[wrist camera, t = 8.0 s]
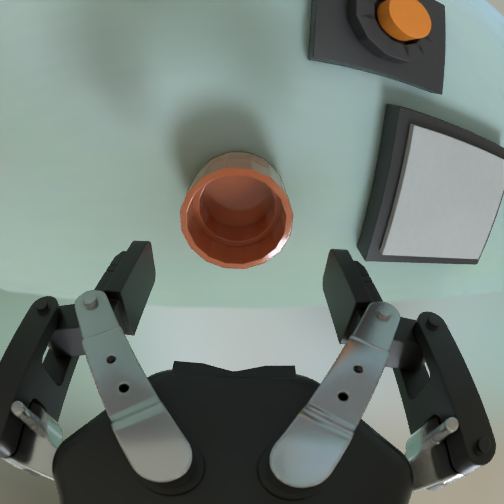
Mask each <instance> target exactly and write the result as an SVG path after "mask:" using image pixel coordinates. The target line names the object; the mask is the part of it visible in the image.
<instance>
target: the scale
mask: <svg viewBox="0 0 504 504" xmlns="http://www.w3.org/2000/svg"><path fill="white" fill-rule="evenodd" d="M503 194H504V148H503V147H501V146H499V145H497V144H495V143H493V142H491V141H489V140H487V139H485V138H483V137H481V136H479V135H476V134H474V133H472V132H470V131H467V130H465V129H463V128H460V127H458V126H455V125H453V124H450V123H448V122H445V121H443V120H440V119H437V118H435V117H432V116H429V115H426V114H423V113H420V112H417V111H414V110H411V109H408V108H404V107H401V106H396V105H391V104H387V106H386V114H385V121H384V127H383V134H382V140H381V146H380V151H379V157H378V162H377V167H376V172H375V177H374V182H373V187H372V191H371V196H370V200H369V204H368V209H367V213H366V217H365V221H364V225H363V229H362V232H361V236H360V240H359V244H358V247H357V248H358V250H359V252H360V253H361V255H362V257H363V258H364V260H365V261H381V262H412V263H445V264H477V263H478V261H479V259H480V256H481V254H482V252H483V249H484V247H485V245H486V242H487V240H488V237H489V235H490V232H491V229H492V227H493V224H494V221H495V218H496V216H497V213H498V210H499V207H500V203H501V200H502V197H503Z"/></svg>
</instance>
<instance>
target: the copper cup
mask: <svg viewBox="0 0 504 504" xmlns="http://www.w3.org/2000/svg"><path fill="white" fill-rule="evenodd" d="M180 214H181V230H182V232H183V234H184V236H185V238H186V240H187V242H188V244H189V246H190V247H191V249H193V250H194V251H195V252H196V253H197V254H198V255H199V256H201V257H202V258H203V259H204V260H205V261H207V262H210V263H213V264H215V265H218V266H220V267H223V268H236V269H246V268H249V267H253V266H256V265H260V264H263V263H265V262H266V261H268V260H269V259H270V258H272V257H273V256H275V255H276V254H277V253H279V252H280V251H281V249H282V248H283V246H284V244H285V243H286V241H287V240H288V238H289V236H290V234H291V228H292V221H293V212H292V209H291V206H290V203H289V199H288V196H287V194H286V191H285V188H284V186H283V183H282V180H281V178H280V175H279V174H278V173H277V171H276V170H275V169H274V168H273V167H272V166H271V165H270V164H269V163H268V162H267V161H266V160H264V159H262V158H260V157H258V156H255V155H253V154H251V153H244V152H229V153H226V154H223V155H220V156H218V157H215V158H213V159H211V160H210V161H209V162H208V163H207V164H206V165H205V166H204V167H203V168H202V169H201V170H200V171H199V172H198V174H197V176H196V177H195V179H194V181H193V183H192V185H191V187H190V188H189V190H188V192H187V195H186V197H185V200H184V202H183V205H182V207H181V211H180Z"/></svg>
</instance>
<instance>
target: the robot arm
mask: <svg viewBox="0 0 504 504" xmlns="http://www.w3.org/2000/svg"><path fill="white" fill-rule="evenodd" d="M154 282H155V266H154V259H153V253H152V246H151V243H150V242H149V241H133V242H132V244H131V245H130V247H129V248H128V250H127V251H122V252H121V253H120V254H118V255H117V256H116V257H115V258H114V259H113V261H112V262H111V264H110V266H109V267H108V268H107V270H106V272H105V273H104V275H103V276H102V278H101V280H100V281H99V283H98V284H97V286H96V288H95V289H94V290H91V291H87V292H85V293H83V294H82V295H80V296H79V297H78V298H77V300H76V301H75V304H71V305H64V306H59V304H58V302H57V300H56V299H55V298H54V297H51V296H45V297H42V298H40V299H38V300H37V301H35V302H34V303H33V304H32V306H31V307H30V309H29V310H28V312H27V314H26V315H25V317H24V319H23V320H22V322H21V324H20V326H19V327H18V329H17V331H16V333H15V334H14V336H13V338H12V340H11V342H10V344H9V346H8V348H7V349H6V351H5V353H4V356H3V357H2V360H1V362H0V457H1V458H2V459H4V460H5V461H7V462H8V463H10V464H12V465H13V466H15V467H17V468H19V469H22V470H24V471H25V472H28V473H29V474H31V475H34V476H39V475H43V476H45V477H47V478H50V479H52V480H54V482H55V486H56V489H57V494H58V499H59V504H408V503H409V500H410V497H411V494H412V493H414V492H417V491H420V490H423V489H428V490H437V489H439V488H441V487H443V486H446V485H448V484H450V483H452V482H454V481H456V480H458V479H460V478H462V477H464V476H466V475H467V474H469V473H471V472H473V471H475V470H477V469H478V468H480V467H482V466H484V465H485V464H487V463H488V462H490V461H491V459H492V458H493V456H494V454H495V449H496V443H495V438H494V435H493V433H492V429H491V426H490V423H489V420H488V417H487V414H486V412H485V409H484V406H483V404H482V401H481V398H480V396H479V394H478V391H477V388H476V386H475V384H474V382H473V379H472V377H471V374H470V372H469V370H468V368H467V365H466V363H465V361H464V359H463V357H462V355H461V353H460V351H459V349H458V347H457V345H456V343H455V341H454V339H453V337H452V335H451V333H450V331H449V329H448V328H447V325H446V323H445V322H444V320H443V319H442V318H441V317H440V316H438V315H436V314H435V313H432V312H423V313H421V314H420V315H419V317H418V319H417V320H412V319H407V318H403V317H400V314H399V312H398V311H397V309H396V308H395V307H394V306H392V305H391V304H389V303H386V302H383V301H382V299H381V297H380V295H379V293H378V291H377V289H376V287H375V285H374V283H372V280H371V278H370V277H369V274H368V272H367V270H366V269H365V267H364V266H362V265H361V264H360V263H359V262H358V261H353V259H352V257H351V255H350V254H349V252H348V250H341V249H331V250H330V252H329V255H328V259H327V264H326V268H325V272H324V276H323V291H324V294H325V297H326V300H327V304H328V307H329V310H330V313H331V317H332V320H333V323H334V327H335V330H336V333H337V337H338V340H339V343H340V344H345V346H344V348H343V349H342V351H341V353H340V354H339V356H338V358H337V359H336V361H335V363H334V364H333V366H332V367H331V369H330V370H329V372H328V374H327V375H326V377H325V378H324V380H323V381H322V383H321V384H320V383H318V382H316V381H314V380H313V379H310V378H308V377H305V376H301V375H297V374H296V372H295V366H263V367H258V368H252V369H247V370H242V371H233V372H232V371H229V370H225V369H221V368H217V367H214V366H210V365H207V364H202V363H191V362H179V361H174V364H173V369H172V370H166V371H162V372H159V373H156V374H153V375H151V376H149V377H146V375H145V373H144V371H143V370H142V368H141V366H140V364H139V362H138V360H137V358H136V356H135V354H134V352H133V350H132V349H131V347H130V344H129V342H128V340H127V338H126V336H125V334H126V335H134V334H135V332H136V329H137V326H138V324H139V320H140V318H141V315H142V313H143V310H144V308H145V305H146V302H147V300H148V297H149V295H150V292H151V290H152V287H153V285H154ZM47 346H48V347H49V350H48V352H47V355H46V357H45V359H44V362H43V364H42V358H43V354H44V352H45V350H46V348H47ZM80 355H86V358H87V361H88V364H89V367H90V370H91V373H92V376H93V379H94V381H95V384H96V387H97V389H98V392H99V395H100V397H101V399H102V402H103V404H104V407H105V410H104V411H103V412H101V413H100V414H99V415H98V416H96V417H95V418H94V419H92V420H91V421H90V422H88V423H87V424H86V425H84V426H83V427H82V428H80V429H79V430H78V431H76V432H75V433H74V434H72V435H71V436H69V437H68V438H67V439H66V440H64V441H63V439H62V430H61V427H60V425H59V424H58V419H59V416H60V413H61V409H62V406H63V402H64V399H65V396H66V393H67V390H68V387H69V384H70V381H71V378H72V375H73V372H74V369H75V366H76V364H77V361H78V358H79V356H80ZM425 362H426V363H427V366H428V369H429V371H430V378H429V375H428V372H427V370H426V367H425V365H424V363H425ZM385 367H391V368H393V371H394V374H395V377H396V381H397V384H398V387H399V391H400V394H401V398H402V401H403V405H404V409H405V413H406V417H407V420H408V425H409V429H410V433H411V436H410V437H409V438H408V440H407V443H406V452H405V455H404V454H403V453H402V452H401V451H399V450H398V449H397V448H396V447H394V446H393V445H392V444H391V443H390V442H388V441H387V440H386V439H385V438H383V437H382V436H381V435H380V434H379V433H377V432H376V431H375V430H374V429H373V428H371V427H370V426H369V425H368V424H367V423H365V422H364V421H363V420H362V419H361V418H362V416H363V413H364V412H365V410H366V407H367V405H368V403H369V401H370V399H371V397H372V395H373V393H374V391H375V388H376V386H377V384H378V382H379V379H380V377H381V375H382V372H383V370H384V368H385Z"/></svg>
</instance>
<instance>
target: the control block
mask: <svg viewBox="0 0 504 504" xmlns="http://www.w3.org/2000/svg"><path fill="white" fill-rule="evenodd" d="M383 1H385V0H312V9H311V26H310V41H309V55H308V59H309V60H313V61H319V62H324V63H330V64H335V65H340V66H345V67H349V68H354V69H358V70H362V71H366V72H370V73H373V74H377V75H381V76H384V77H387V78H391V79H394V80H397V81H400V82H403V83H406V84H409V85H412V86H415V87H418V88H420V89H423V90H426V91H428V92H431V93H436V94H442V89H443V79H444V65H445V6H444V5H443V4H441V3H439V2H437V1H435V0H417V1H419V2H420V3H421V4H422V5H423V6H424V8H425V9H426V10H427V12H428V14H429V16H430V19H431V30H430V32H429V34H428V35H427V36H426V37H424V38H419V39H413V40H408V41H401V40H397V39H395V38H393V37H391V36H390V35H389V34H387V33H386V32H385V31H384V30H383V28H382V27H381V25H380V24H379V21H378V19H377V8H378V6H379V4H380V3H382V2H383Z"/></svg>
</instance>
